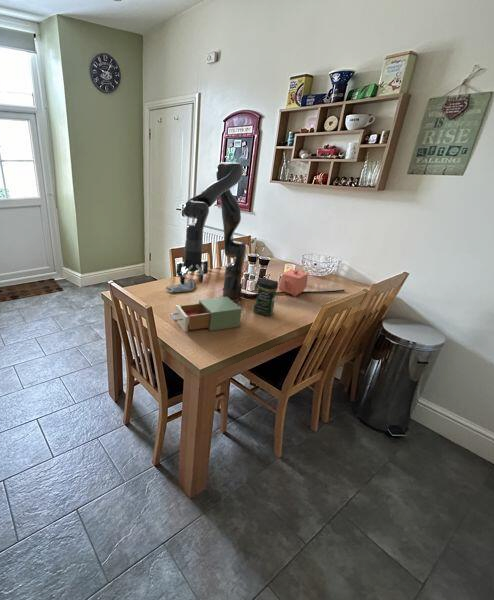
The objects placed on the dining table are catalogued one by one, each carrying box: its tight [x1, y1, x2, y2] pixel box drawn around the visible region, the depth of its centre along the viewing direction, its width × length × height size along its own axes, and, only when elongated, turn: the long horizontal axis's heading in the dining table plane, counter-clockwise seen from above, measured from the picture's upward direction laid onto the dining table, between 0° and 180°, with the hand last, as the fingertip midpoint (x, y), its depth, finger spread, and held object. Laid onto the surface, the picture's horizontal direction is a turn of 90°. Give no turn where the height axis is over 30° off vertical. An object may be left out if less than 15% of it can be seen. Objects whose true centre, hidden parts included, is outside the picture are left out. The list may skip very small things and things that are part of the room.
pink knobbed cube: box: [278, 269, 308, 297], centre depth 196 cm, size 22×13×14 cm, turn 134°
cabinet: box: [198, 297, 243, 331], centre depth 161 cm, size 16×15×10 cm
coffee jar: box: [253, 277, 279, 317], centre depth 169 cm, size 10×8×19 cm
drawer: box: [169, 302, 211, 333], centre depth 157 cm, size 19×13×8 cm
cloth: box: [166, 279, 196, 294], centre depth 202 cm, size 26×14×2 cm, turn 131°
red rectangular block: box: [184, 310, 197, 325], centre depth 157 cm, size 6×10×4 cm, turn 18°
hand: (191, 283), depth 149 cm, fingers open, 8 cm apart
